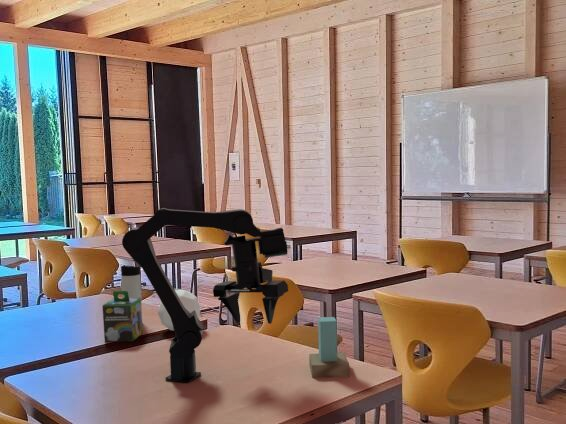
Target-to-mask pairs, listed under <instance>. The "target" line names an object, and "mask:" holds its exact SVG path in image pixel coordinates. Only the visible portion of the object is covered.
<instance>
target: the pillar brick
mask: <svg viewBox="0 0 566 424" xmlns="http://www.w3.org/2000/svg"><path fill="white" fill-rule="evenodd" d="M317 319H318V320H317V322H318V323H317V324H318V327H317V329H318V331H317V332H318V354H319V358H320V361H321V362H329V361H337V353H338V330H337V329H338V328H337V327H338V325H337V324H338V323H337V319H336V318H335V316H324V317H322V316H321V317H317Z"/></svg>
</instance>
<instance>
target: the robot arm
mask: <svg viewBox="0 0 566 424" xmlns="http://www.w3.org/2000/svg"><path fill="white" fill-rule="evenodd" d="M165 226H176V227H177V226H178V227H196V228H208V229H209V228H213V229H217V230H221V231H224V232H228V233H229V234H228V236H227V238H226V239H225V240H224V241H223V244H224V246H231V248H232V254H233V262H234V266H232V267H231V270H232V272H235V278H236V281H235V280H225V281H222V282H220V283H217V284H215V285H214V286H213V289H212V295H213V298H217V299H218V301H221V302H222V304H223V305H224V306H225V308H226V309H227V310H228V312H229V313H230V315H231V316H232V318H233V319H234V320H235V322H236V324H239V323H241V314H240V312H241V311H240V304H239V299H240V293H241V294H242V293H261V294H262V295H263V296H264V297H263V298H262V299H261V300H262V304H263V309H264V312H265V316H266V321H267V323H268V325H269V324H270V325H272V323H273V319H274V315H275V310H276V307H277V303H278V301H279V299H280V297H282V296H284V294H285V293H288V292H289V284H288V283H287V282H286V280H283V279H282V280H279V279H278V280H273V271H274V270H272V269H268V268H263V264H262V262H261V261H258V260H259V259H258V254H257V253H259V255H263V257H264V259H268V258H274V257H281V256H287V255H288V242H287V241H286V237H285V231H284V228H283V227H277V228H274V229H268V230H267V229H266V230H261V228H260V227H259V226H256V225H255V224H254V219H253V217H252V215H251V214H250V213H249V212H248V211H247V210H246V209H242V208H241V209H230V210H221V211H215V212H214V211H202V210H201V211H200V210H186V209H185V210H184V209H183V210H182V209H170V208H166V207H162V208H160V209H157V211H156V212H155V213H154V215H152V216H151V217H150V218H149V219H147V221H145V222H144V223H143V224H142V225H140V226H139V227H133V228H131V229H129V230H128V231H127V232H125V234H124V235H123V237H122V240H121V241H122V242H121V244H122V247H123V249H124V251H126V252H127V254H128V255H129V257H131V259H132V260H133V261H134V262H135V263H136V264H138V266H139V267H140V268H141V269H142V270H143V272H144V274H145V275H146V278H147V279H148V281H149V283H150V284H151V286H152V288H153V289H154V291H155V294H157V297H158V298H159V299H160V302H162V303H163V305H164V307H165V309H166V310H167V312H168V314H169V316H170V318H171V321H172V324H173V328H174V331H173V332H174V335H175V337H173V338H172V340H171V341H170V345H169V349H168V352H169V360H170V361H169V362H170V363H169V364H170V365H169V367H170V368H169V369H170V375H167V376H166V377H165V380H166V381H171V382H176V383H177V382H179V383H187V384H188V383H190V382H191V381H194V380H195V379H197V378H199V376H201V375H202V372H200V371H196V370H197V368H196V366H197V365H196V364H197V363H196V362H197V361H196V349H197V348H199V346H200V345H201V344H202V340H203V326H204V325H203V322H202V321H201V320H200V318H199V319H198V317H197V314H196V311H195V310H194V311H192V312H191V313H190V312H189V311H188V310H187V309H186V308H185V307H184V306H183V304H182V302H181V301H180V299H179V297H178V295H177V293H176V292H175V290H174V288H175V287H174V286H173V285H172V283H171V281H170V280H169V278H168V277H167V274H166V273H165V271H164V269H163V267H162V266H161V264H160V262H159V260H158V258H157V256H156V251H155V247H154V245H153V242H152V239H151V238H153V236H155V235H156V234H157V233H158V232H160V230H161V229H163V227H165ZM231 233H233V234H236V235H238V236H233V235H232V234H231ZM245 234H246V235H249V236H251V237H252V238H246V235H245ZM256 242H257V244H256ZM257 248H258V251H257Z"/></svg>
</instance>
